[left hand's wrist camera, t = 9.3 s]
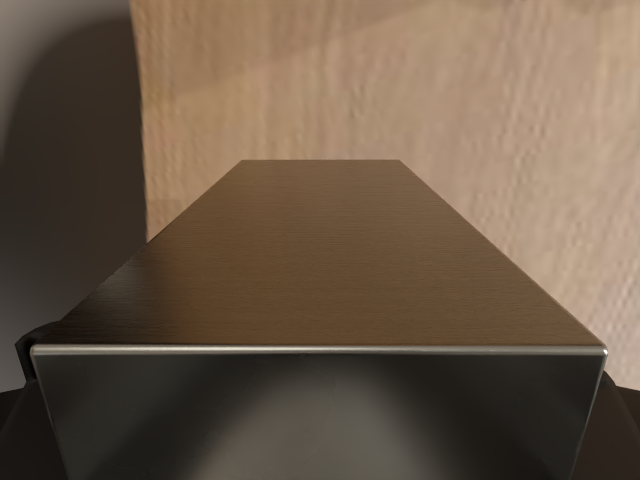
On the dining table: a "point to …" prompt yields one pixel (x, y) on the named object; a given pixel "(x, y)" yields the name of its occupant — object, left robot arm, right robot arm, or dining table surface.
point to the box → (319, 343)
